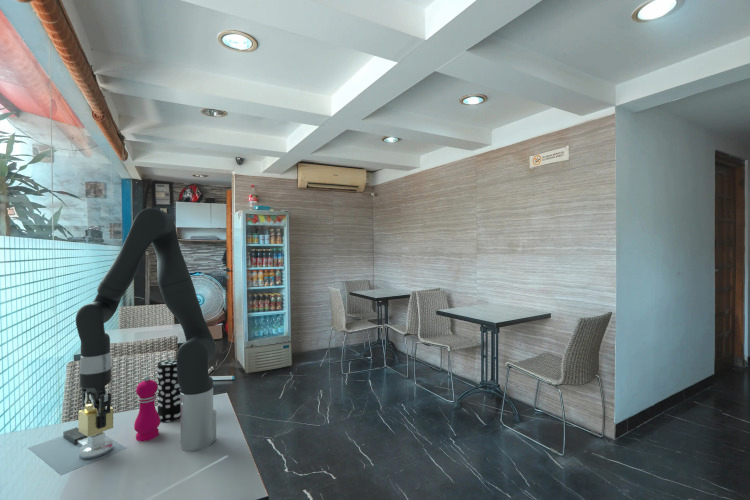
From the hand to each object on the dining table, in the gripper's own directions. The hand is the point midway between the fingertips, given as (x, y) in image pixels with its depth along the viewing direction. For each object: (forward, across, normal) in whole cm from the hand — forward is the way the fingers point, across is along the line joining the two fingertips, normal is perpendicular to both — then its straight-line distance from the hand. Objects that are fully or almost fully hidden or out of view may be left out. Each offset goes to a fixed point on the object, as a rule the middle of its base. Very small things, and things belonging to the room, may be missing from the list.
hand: (96, 424), depth 110 cm
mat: (+9, +8, +2) cm, 12 cm away
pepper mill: (+9, -3, -13) cm, 16 cm away
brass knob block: (+1, 0, 0) cm, 1 cm away
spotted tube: (+9, +5, -25) cm, 27 cm away
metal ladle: (+8, +8, 0) cm, 11 cm away
